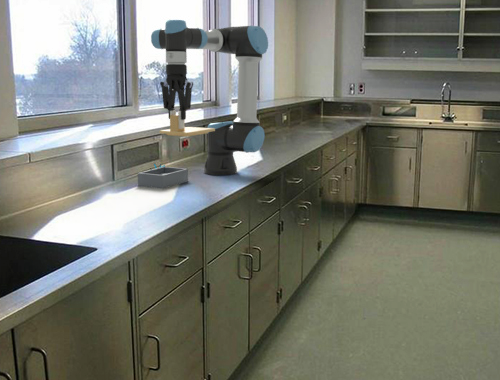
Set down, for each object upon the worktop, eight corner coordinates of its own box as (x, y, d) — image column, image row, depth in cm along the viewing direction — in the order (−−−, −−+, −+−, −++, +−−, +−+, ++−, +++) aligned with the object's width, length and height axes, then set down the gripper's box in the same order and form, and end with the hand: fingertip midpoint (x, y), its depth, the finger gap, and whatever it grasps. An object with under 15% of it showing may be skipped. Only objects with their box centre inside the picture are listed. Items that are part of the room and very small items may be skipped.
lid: (187, 131, 236) (187, 111, 234) (214, 133, 230) (214, 113, 228) (159, 135, 220) (159, 114, 218) (188, 137, 214) (187, 115, 212)
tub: (164, 180, 248) (163, 166, 247) (188, 183, 243) (187, 168, 242) (138, 187, 233) (137, 173, 231) (163, 190, 227) (162, 175, 226)
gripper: (152, 63, 214) (153, 128, 219) (189, 63, 207) (189, 130, 211) (164, 64, 220) (165, 126, 225) (200, 64, 213) (201, 128, 218)
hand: (177, 128), depth 218 cm, fingers closed on lid, 3 cm apart
